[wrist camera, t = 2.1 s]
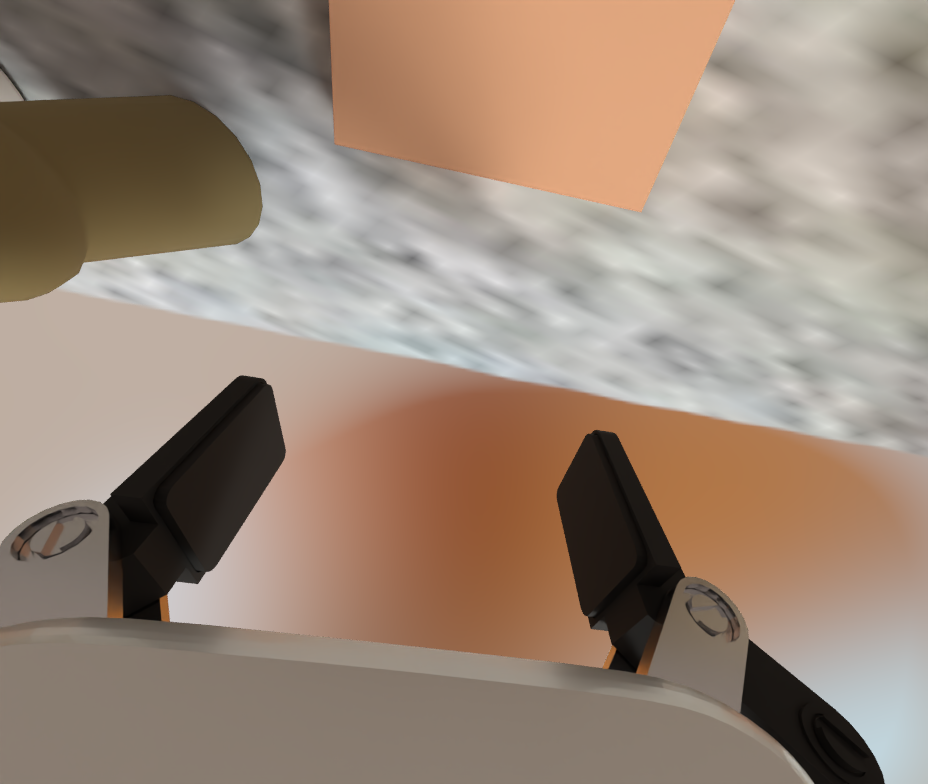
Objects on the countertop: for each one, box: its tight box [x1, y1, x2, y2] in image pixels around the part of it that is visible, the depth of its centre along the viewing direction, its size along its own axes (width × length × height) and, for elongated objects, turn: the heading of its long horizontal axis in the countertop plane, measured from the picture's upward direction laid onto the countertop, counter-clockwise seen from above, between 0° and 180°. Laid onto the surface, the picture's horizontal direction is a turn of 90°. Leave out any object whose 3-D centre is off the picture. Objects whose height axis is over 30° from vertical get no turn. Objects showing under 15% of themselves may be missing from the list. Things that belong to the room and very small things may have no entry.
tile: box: [329, 0, 735, 212], centre depth 11 cm, size 12×10×4 cm
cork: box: [0, 95, 262, 303], centre depth 12 cm, size 6×6×11 cm
